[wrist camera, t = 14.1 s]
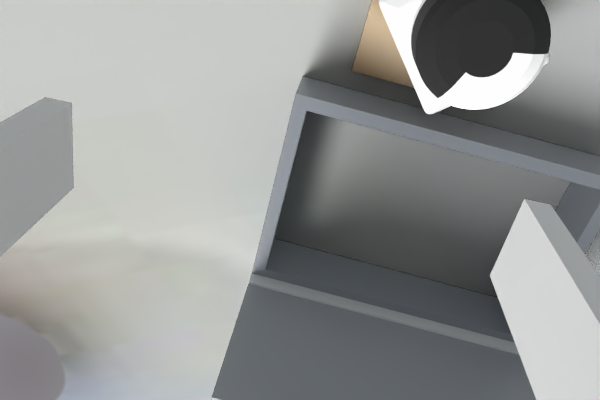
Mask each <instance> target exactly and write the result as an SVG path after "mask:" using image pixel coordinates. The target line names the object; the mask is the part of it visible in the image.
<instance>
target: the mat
mask: <svg viewBox="0 0 600 400" xmlns="http://www.w3.org/2000/svg"><path fill="white" fill-rule="evenodd" d="M352 71H354V72H357V73H361V74H365V75H368V76H372V77H376V78H379V79H383V80H387V81H390V82H394V83H398V84H402V85H405V86H409V87H413V88H414V86H413V83H412V81H411V79H410V76H409V74H408V72H407V69H406V67H405V65H404V62H403V60H402V58H401V55H400V53H399V51H398V48H397V46H396V44H395V41H394V39H393V37H392V34H391V32H390V30H389V27H388V25H387V23H386V20H385V18H384V16H383V13H382V11H381V9H380V6H379V2H378V0H372V1H371V5H370V8H369V12H368V15H367V19H366V22H365V26H364V29H363V33H362V36H361V39H360V43H359V46H358V50H357V53H356V57H355V60H354V64H353V67H352ZM490 109H492V108H490Z"/></svg>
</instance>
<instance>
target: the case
mask: <svg viewBox="0 0 600 400" xmlns="http://www.w3.org/2000/svg"><path fill="white" fill-rule="evenodd" d="M307 111H309V112H313V113H317V114H321V115H324V116H328V117H332V118H335V119H339V120H343V121H347V122H350V123H354V124H358V125H362V126H365V127H369V128H373V129H376V130H380V131H384V132H388V133H391V134H395V135H399V136H402V137H406V138H410V139H414V140H417V141H421V142H425V143H428V144H432V145H436V146H440V147H443V148H447V149H451V150H454V151H458V152H462V153H466V154H469V155H473V156H477V157H480V158H484V159H488V160H492V161H495V162H499V163H503V164H506V165H510V166H514V167H518V168H521V169H525V170H529V171H532V172H536V173H540V174H544V175H547V176H551V177H555V178H558V179H562V180H566V181H570V182H571V183H570V185H569V186H568V188H567V190H566V192H565V194H564V196H563V198H562V199H561V201H560V203H559V205H558V207H557V209H556V211H555V212H556V213H557V215H558V216H559V218H560V219H561V220H562V222H563V223H564V225H565V226H566V228H567V229H568V231H569V232H570V234H571V235H572V237H573V238H574V239H575V241H576V242H577V244H578V245H579V247H580V248H581V250H582V251H583V253H584V254H585V253H586V251H587V250H588V248H589V246H590V245H591V243H592V241H593V240H594V238H595V236H596V235H597V233H598V231H599V230H600V157H599V156H597V155H593V154H589V153H585V152H582V151H578V150H574V149H571V148H567V147H563V146H560V145H556V144H552V143H548V142H545V141H541V140H537V139H534V138H530V137H526V136H523V135H519V134H515V133H511V132H508V131H504V130H500V129H497V128H493V127H489V126H485V125H482V124H478V123H474V122H471V121H467V120H463V119H460V118H456V117H452V116H448V115H445V114H441V113H437V112H436V113H434V114H427V113H426V112H425V111H424V109H423V108H419V107H415V106H411V105H408V104H404V103H400V102H397V101H393V100H389V99H386V98H382V97H378V96H374V95H371V94H367V93H363V92H360V91H356V90H352V89H349V88H345V87H341V86H337V85H334V84H330V83H326V82H323V81H319V80H315V79H311V78H308V77H304V76H303V77H302V80H301V82H300V85H299V87H298V89H297V92H296V95H295V99H294V103H293V107H292V111H291V115H290V119H289V123H288V127H287V131H286V136H285V140H284V144H283V148H282V152H281V156H280V160H279V164H278V168H277V172H276V177H275V181H274V185H273V189H272V193H271V197H270V201H269V205H268V209H267V213H266V217H265V222H264V226H263V230H262V234H261V238H260V242H259V246H258V250H257V254H256V258H255V263H254V267H253V271H252V274H251V278H250V281H249V284H248V287H247V290H246V293H245V296H244V300H243V303H242V306H241V309H240V312H239V315H238V318H237V321H236V324H235V327H234V330H233V333H232V336H231V339H230V343H229V346H228V349H227V352H226V355H225V358H224V361H223V364H222V367H221V370H220V373H219V376H218V379H217V382H216V386H215V389H214V392H213V395H212V398H211V400H536V398H535V395H534V392H533V390H532V387H531V384H530V382H529V379H528V376H527V374H526V371H525V368H524V366H523V363H522V360H521V358H520V355H519V352H518V350H517V347H516V344H515V342H514V339H513V336H512V334H511V331H510V328H509V326H508V323H507V320H506V318H505V315H504V312H503V310H502V307H501V304H500V302H499V299H498V298H497V297H493V296H489V295H485V294H482V293H478V292H474V291H470V290H467V289H463V288H459V287H455V286H451V285H448V284H444V283H440V282H436V281H433V280H429V279H425V278H421V277H417V276H414V275H410V274H406V273H402V272H399V271H395V270H391V269H387V268H383V267H380V266H376V265H372V264H368V263H365V262H361V261H357V260H353V259H349V258H346V257H342V256H338V255H334V254H331V253H327V252H323V251H319V250H316V249H312V248H308V247H304V246H300V245H297V244H293V243H289V242H285V241H282V240H278V239H274V238H275V234H276V230H277V226H278V222H279V218H280V214H281V211H282V207H283V203H284V199H285V195H286V191H287V187H288V184H289V180H290V176H291V172H292V168H293V164H294V160H295V157H296V153H297V149H298V145H299V141H300V137H301V133H302V130H303V126H304V122H305V118H306V114H307Z"/></svg>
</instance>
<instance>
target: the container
mask: <svg viewBox="0 0 600 400" xmlns="http://www.w3.org/2000/svg"><path fill="white" fill-rule="evenodd" d="M378 2H379V6H380V9H381V11H382V13H383V16H384V18H385V20H386V23H387V25H388V27H389V30H390V32H391V34H392V37H393V39H394V41H395V44H396V46H397V48H398V51H399V53H400V55H401V58H402V60H403V62H404V65H405V67H406V69H407V72H408V74H409V76H410V79H411V81H412V83H413V86H414V88H415V90H416V93H417V95H418V97H419V100H420V102H421V104H422V107H423V109H424V111H425V112H426V113H427V114H434V113H436V112H438V111H441V110H443V109H445V108H447V107H450V106H454V107H457V108H461V109H468V110H481V109H488V108H492V107H496V106H498V105H501V104H504V103H506V102H508V101H510V100H511V99H513V98H515V97H516V96H518V95H519V94H520V93H522V92H523V91H524V90H525V89H526V88H527V87H528V86H529V85H530V84H531V83H532V82H533V81H534V80H535V78H536V77H537V75H538V74H539V72H540V71H541V69H542V67H543V66H544V65H546V64H547V63H548V62H549V60H550V55H549V52H548V51H549V47H550V39H551V30H550V22H549V18H548V15H547V12H546V10H545V7H544V6H543V4H542V2H541V1H540V0H378Z"/></svg>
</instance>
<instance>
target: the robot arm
mask: <svg viewBox="0 0 600 400" xmlns="http://www.w3.org/2000/svg"><path fill="white" fill-rule="evenodd" d="M73 188H74V180H73V137H72V103H70V102H65V101H61V100H56V99H51V98H46V97H45V98H43V99H41V100H39V101H38V102H36V103H34V104H32V105H31V106H29V107H27V108H25V109H23V110H22V111H20V112H18V113H16V114H15V115H13V116H11V117H9V118H7V119H6V120H4V121H2V122H0V256H1V255H2V254H4V253H5V252H6V251H7V250H8V249H9V248H10V247H11V246H12V245H13V244H14V243H15V242H16V241H17V240H18V239H20V238H21V237H22V236H23V235H24V234H25V233H26V232H27V231H28V230H29V229H30V228H31V227H32V226H33V225H34V224H36V223H37V222H38V221H39V220H40V219H41V218H42V217H43V216H44V215H45V214H46V213H47V212H48V211H49V210H50V209H52V208H53V207H54V206H55V205H56V204H57V203H58V202H59V201H60V200H61V199H62V198H63V197H64V196H65V195H66V194H68V193H69V192H70V191H71V190H72V189H73ZM490 278H491V280H492V283H493V286H494V288H495V291H496V294H497V296H498V299H499V302H500V304H501V307H502V310H503V312H504V315H505V318H506V320H507V323H508V326H509V328H510V331H511V334H512V336H513V339H514V342H515V344H516V347H517V350H518V352H519V355H520V358H521V360H522V363H523V366H524V368H525V371H526V374H527V376H528V379H529V382H530V384H531V387H532V390H533V392H534V395H535V398H536V400H600V276H599V274H598V273H597V272H596V270H595V269H594V267H593V266H592V264H591V263H590V261H589V260H588V258H587V257H586V256H585V254H584V253H583V251H582V250H581V248H580V247H579V245H578V244H577V242H576V241H575V239H574V238H573V237H572V235H571V234H570V232H569V231H568V229H567V228H566V226H565V225H564V223H563V222H562V220H561V219H560V218H559V216H558V215H557V213H556V212H555V210H554V209H553V207H552V206H551V204H546V203H541V202H537V201H532V200H527V199H524V200H523V203H522V205H521V207H520V209H519V212H518V214H517V216H516V218H515V221H514V223H513V225H512V227H511V229H510V232H509V234H508V236H507V238H506V241H505V243H504V245H503V247H502V250H501V252H500V254H499V256H498V258H497V261H496V263H495V265H494V267H493V270H492V272H491V274H490Z"/></svg>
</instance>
